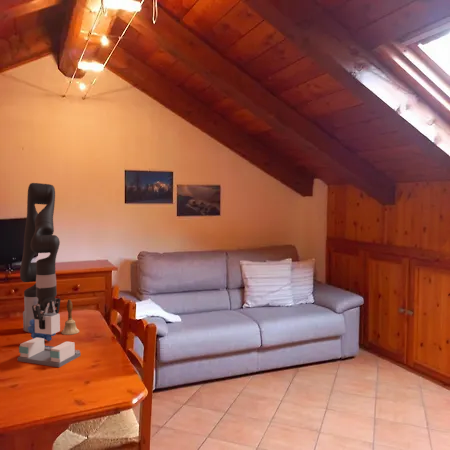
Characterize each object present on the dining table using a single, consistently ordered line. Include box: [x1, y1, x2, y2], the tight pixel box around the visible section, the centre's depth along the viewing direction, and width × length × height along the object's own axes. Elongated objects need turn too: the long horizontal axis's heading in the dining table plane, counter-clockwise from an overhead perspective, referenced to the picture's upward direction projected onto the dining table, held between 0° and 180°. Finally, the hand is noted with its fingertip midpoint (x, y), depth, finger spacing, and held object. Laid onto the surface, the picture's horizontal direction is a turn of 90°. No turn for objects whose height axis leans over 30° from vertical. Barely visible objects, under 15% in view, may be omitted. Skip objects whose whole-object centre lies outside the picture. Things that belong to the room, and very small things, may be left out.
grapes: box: [28, 319, 57, 342], centre depth 196 cm, size 12×7×12 cm, turn 106°
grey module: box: [35, 311, 61, 335], centre depth 176 cm, size 8×5×7 cm, turn 72°
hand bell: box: [60, 299, 80, 336], centre depth 211 cm, size 8×8×16 cm
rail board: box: [17, 337, 81, 368], centre depth 178 cm, size 20×13×6 cm, turn 72°
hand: (47, 326), depth 176 cm, fingers closed on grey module, 5 cm apart
